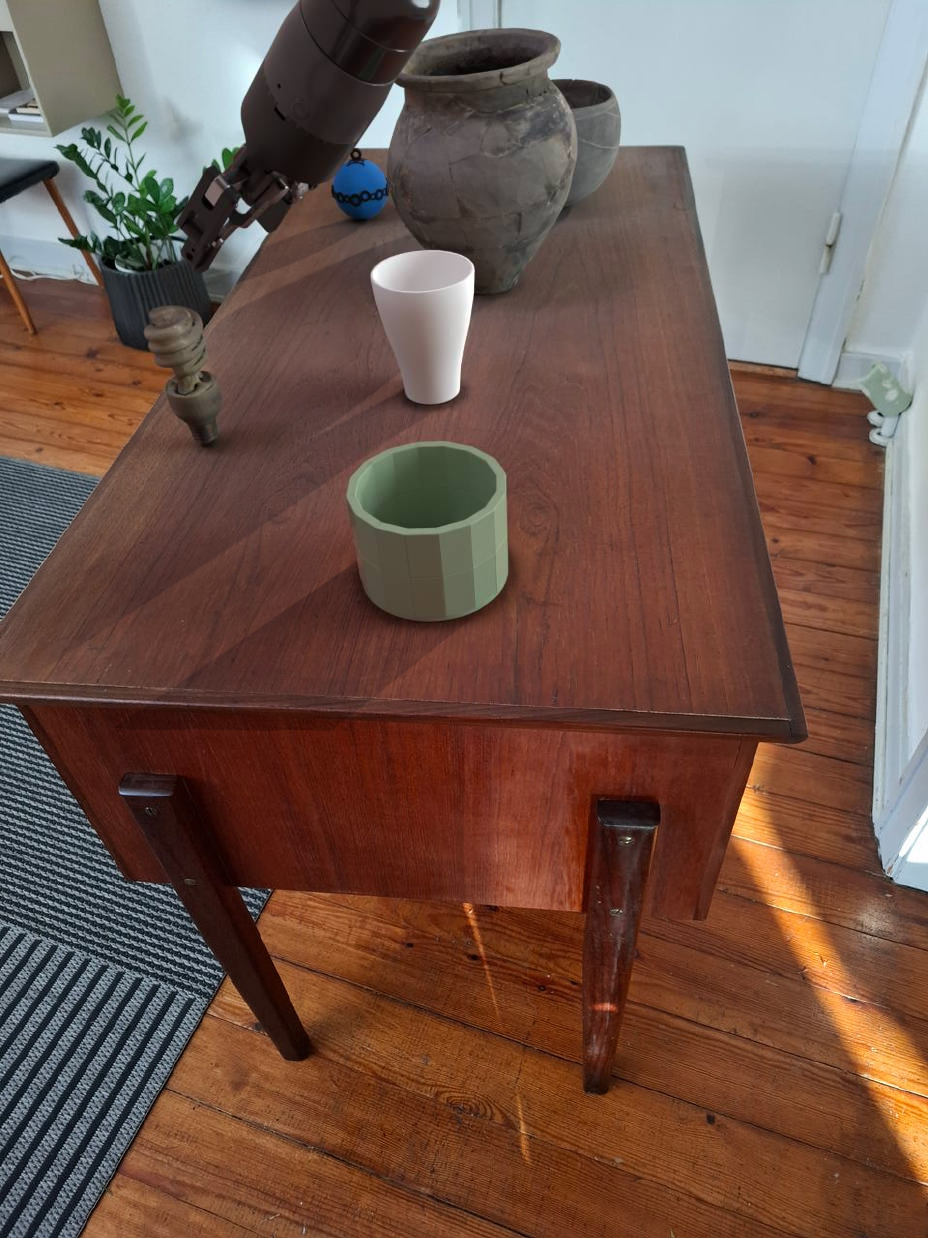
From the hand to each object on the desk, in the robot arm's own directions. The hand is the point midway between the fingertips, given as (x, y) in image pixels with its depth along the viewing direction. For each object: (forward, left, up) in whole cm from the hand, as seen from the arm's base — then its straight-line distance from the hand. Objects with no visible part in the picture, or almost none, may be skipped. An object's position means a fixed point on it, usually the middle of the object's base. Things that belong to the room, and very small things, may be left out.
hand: (228, 242), depth 71 cm
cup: (+19, +11, -24) cm, 32 cm away
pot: (+9, -18, -24) cm, 31 cm away
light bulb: (-6, +11, -24) cm, 27 cm away
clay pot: (+35, +35, -24) cm, 55 cm away
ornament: (+27, +66, -24) cm, 75 cm away
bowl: (+55, +58, -24) cm, 83 cm away
